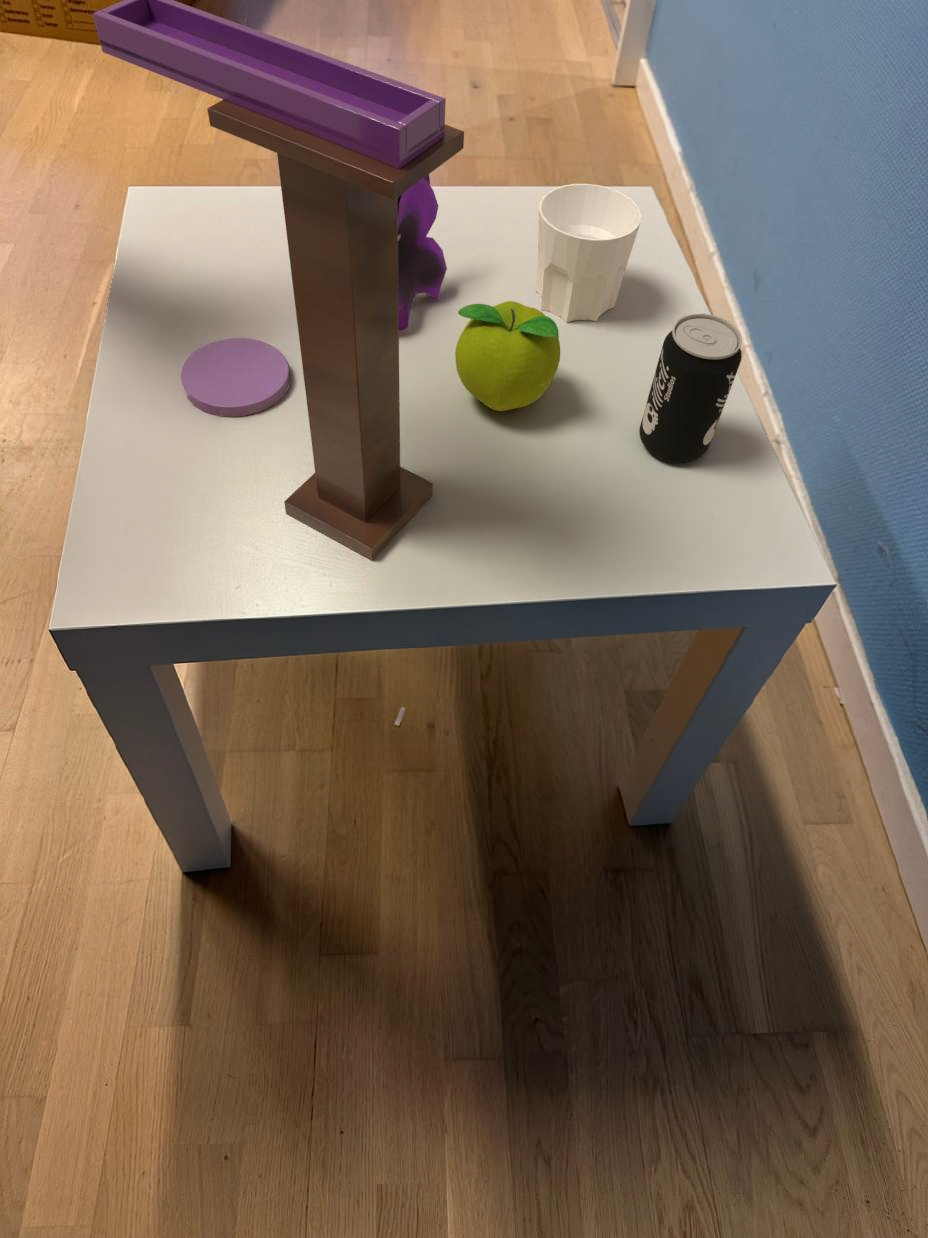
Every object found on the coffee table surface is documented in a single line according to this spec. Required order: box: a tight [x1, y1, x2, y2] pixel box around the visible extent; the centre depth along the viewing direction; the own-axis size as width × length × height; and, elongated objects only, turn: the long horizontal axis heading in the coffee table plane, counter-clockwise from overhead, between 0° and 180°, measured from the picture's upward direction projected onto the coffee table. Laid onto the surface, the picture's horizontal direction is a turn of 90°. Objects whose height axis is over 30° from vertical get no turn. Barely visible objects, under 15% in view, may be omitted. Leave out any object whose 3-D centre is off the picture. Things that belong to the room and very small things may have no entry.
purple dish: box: [92, 0, 447, 169], centre depth 51 cm, size 4×22×2 cm, turn 57°
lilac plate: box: [180, 337, 291, 418], centre depth 85 cm, size 10×10×1 cm
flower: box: [397, 174, 448, 332], centre depth 91 cm, size 15×15×14 cm
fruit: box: [454, 300, 561, 412], centre depth 82 cm, size 9×9×10 cm
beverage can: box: [638, 313, 743, 464], centre depth 78 cm, size 7×7×12 cm
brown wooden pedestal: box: [206, 99, 465, 561], centre depth 64 cm, size 9×13×32 cm
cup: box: [535, 183, 642, 323], centre depth 91 cm, size 10×10×10 cm
